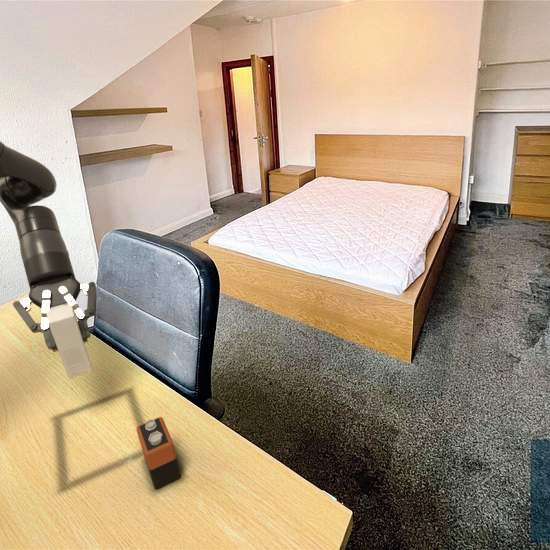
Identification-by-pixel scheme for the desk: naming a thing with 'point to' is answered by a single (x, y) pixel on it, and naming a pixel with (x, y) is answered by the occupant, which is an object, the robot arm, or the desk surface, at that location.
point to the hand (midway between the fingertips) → (70, 345)
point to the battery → (159, 452)
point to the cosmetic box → (69, 340)
